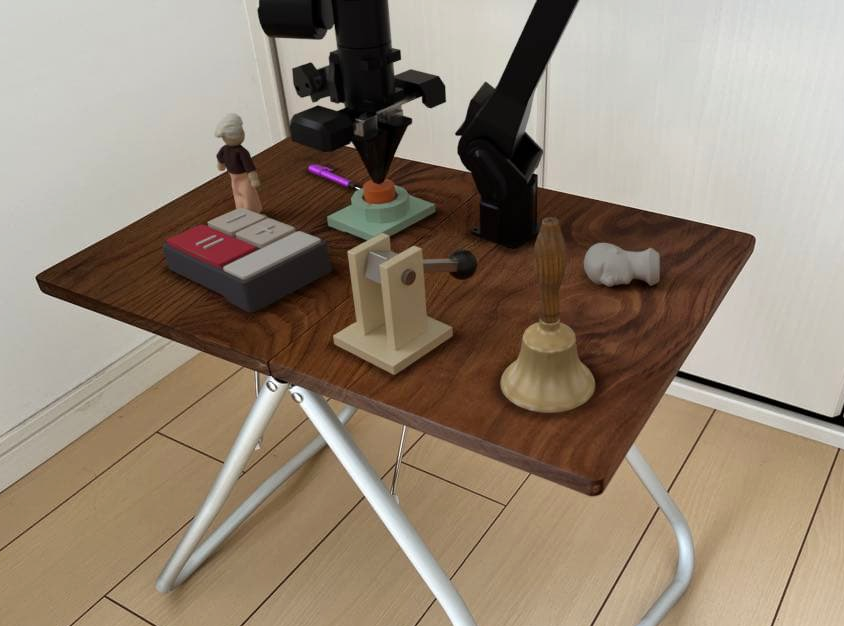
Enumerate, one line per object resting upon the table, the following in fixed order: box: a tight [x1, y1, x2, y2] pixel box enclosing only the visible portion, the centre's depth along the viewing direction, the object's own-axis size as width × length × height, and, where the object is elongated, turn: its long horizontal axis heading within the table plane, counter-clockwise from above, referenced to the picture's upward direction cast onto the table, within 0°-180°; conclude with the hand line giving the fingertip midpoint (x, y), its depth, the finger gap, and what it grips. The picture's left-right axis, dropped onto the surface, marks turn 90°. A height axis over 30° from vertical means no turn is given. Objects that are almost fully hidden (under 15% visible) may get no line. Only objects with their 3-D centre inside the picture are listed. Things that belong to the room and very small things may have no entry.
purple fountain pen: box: [308, 164, 361, 191], centre depth 111 cm, size 3×1×16 cm
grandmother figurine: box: [213, 112, 269, 219], centre depth 100 cm, size 8×4×13 cm, turn 58°
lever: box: [365, 249, 478, 284], centre depth 82 cm, size 14×3×3 cm, turn 139°
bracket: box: [332, 233, 454, 376], centre depth 80 cm, size 8×8×10 cm
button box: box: [326, 184, 436, 241], centre depth 102 cm, size 10×8×3 cm
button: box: [362, 178, 396, 204], centre depth 101 cm, size 4×4×2 cm
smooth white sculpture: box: [583, 242, 661, 288], centre depth 89 cm, size 4×8×5 cm
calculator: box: [162, 208, 333, 314], centre depth 93 cm, size 11×4×15 cm
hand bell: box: [500, 216, 596, 414], centre depth 72 cm, size 8×8×16 cm
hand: (378, 182), depth 100 cm, fingers closed
